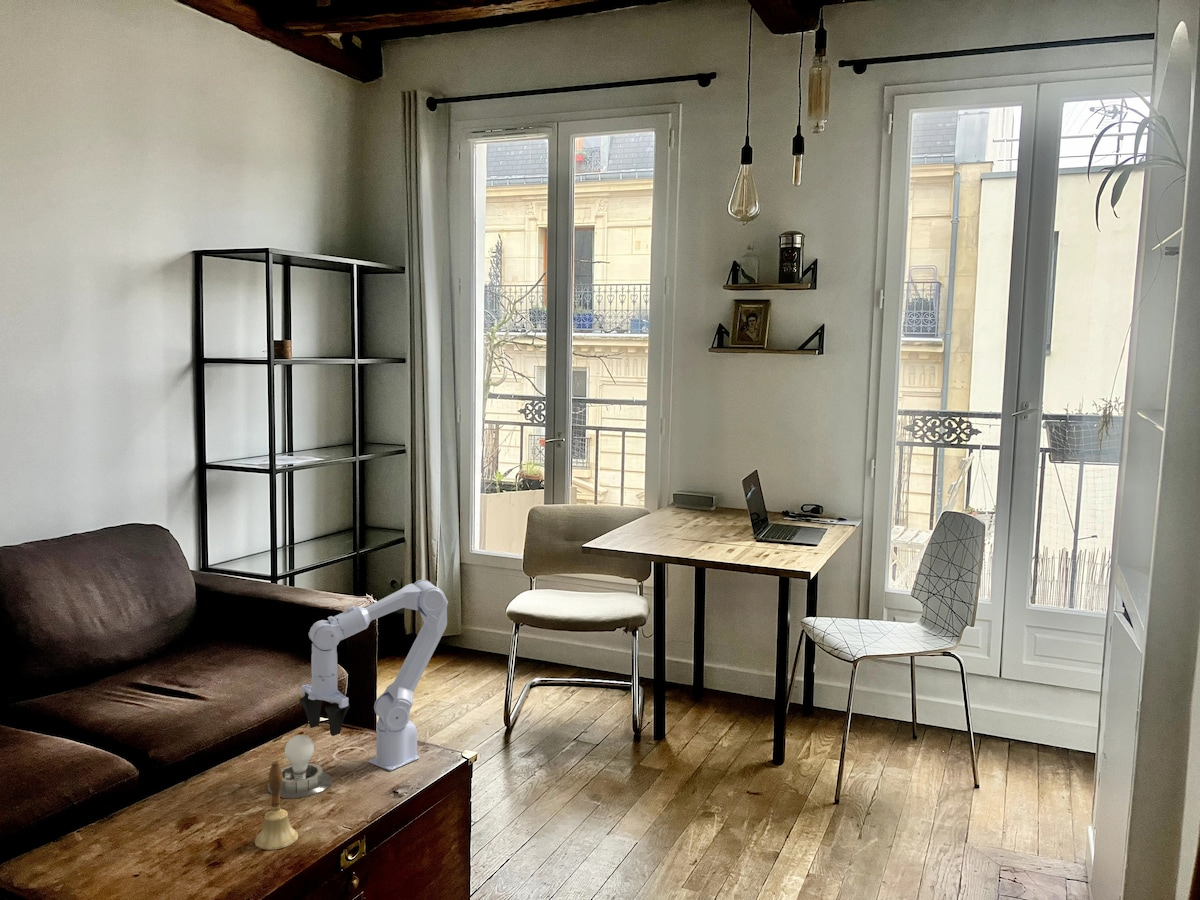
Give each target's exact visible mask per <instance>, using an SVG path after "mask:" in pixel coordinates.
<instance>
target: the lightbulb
mask: <svg viewBox="0 0 1200 900" xmlns="http://www.w3.org/2000/svg"><path fill="white" fill-rule="evenodd" d="M314 753H315V744H314V741H313V740H312V739H311V738H310V737H309V736H308V735H304V734H297V735H295V736H292V737H291V738H290V739H288V741H287V743H286V745H285V747H284V754H285V759H287V761H288V762H289V763H290V765H292V769H293V771H294V780H302V779H306V769H307V766H308V763H310V760H311V759H312V758H313V756H314Z"/></svg>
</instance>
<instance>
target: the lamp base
mask: <svg viewBox="0 0 1200 900" xmlns="http://www.w3.org/2000/svg"><path fill="white" fill-rule="evenodd" d="M281 771H282V786H281V789H280V797H286V798H285V799H287V798H295V799H300V798H299V797H304V798H307V797H306V796H309V797H312V796H311V795H313V796H315V794H316V795H319V794H321V793H323V792H324V791H326V790H327V789H329V788H330V787H329V786H331V785H332V783H333V779H332V776H331V775H330V774H328V773H327V772H325V771H323V768H322V766H321V765H318V764H316V763H310V762H308V766H307V769H306V779H302V780H294V771H293V769H292V765H291V764H289V765H287V766H284V767H282V768H281ZM289 779H290V780H289ZM292 779H293V780H292ZM268 784H269V782H268V783H267V785H266V789H268V790H267V792H268V791H269V792H270V793H271V794H272V792H271V789H270V785H268ZM322 791H323V792H322ZM269 792H268V793H269ZM320 792H321V793H320ZM270 793H269V794H270ZM271 794H270V795H271Z"/></svg>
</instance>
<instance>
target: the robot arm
mask: <svg viewBox="0 0 1200 900" xmlns="http://www.w3.org/2000/svg"><path fill="white" fill-rule="evenodd" d="M448 604H449V601H448V599H447V597H446V595H445V593H444V591H443V590H442V589H440V588H439V587H437V586H436V585H434V584H433V583H432V582H431V581H429V580H426V579H418V580H417V581H415V582H414V583H409V584H406V585H405V586H403V587H402V588H401V589H399V590H397V591H395V592H393V593H391V594H389V595H387V596H385V597H384V598H383V597H382V598H381V599H379V600H378V601H376V602H373V603H372V604H370V605H367V606H366V607H363V606H360V605H356V606H353V605H350V606H347V608H346V609H347V610H345V611H343V612H341V613H338V614H336V615H334V616H332V615H330V616H328V617H327V619H328V620H325V619H321V620H318V621H316V622H314V623H313V624H312V626H311V627H310V629H309V632H308V638H309V640H311V642H312V643H311V661H310V662H311V663H310V664H311V668H310V669H311V684H309V683H307V684H304V685H301V695H303V697H301V698H299V702H300V704H301V706H302V708H303V709H304V711H305V715H306V718H307V722H308V725H309V728H311V729H314V728H316V727H319V726H320V723H321V712H322V711H321V710H322V704H323V701H325V702H328V703H330V704H332V705H329V706H326V707H324V711H325V713H326V716H327V718H328V723H329V733H330V736H331V737H335V736H339V735H340V733H341V730H342V728H343V727H342V726H343V723H344V720H345V717H346V715H347V713H348V711H349V710H350V708H351V704H350V703H349V697H347V696H345V695H344V694H343V693H342V692H341V691H340V690H339V689H338V652H337V650H338V649H337V648H338V647H337V646H338V645H339V643H340V642H341V641H343V640H345V639H347V638H349V637H351V636H354V635H356V634H358V633H360V632H362V631H364V630H367V629H368V628H369V625H370V623H371V622H372V621H373V620H376V619H379V618H381V617H384V616H386V615H388V614H391V613H393V612H397V611H399V610H400V609H401V610H402V609H408V610H413V611H419V614H420V616H421V619H422V621H423V624H422V626H421V628H420V630H419V632H418V634H417V636H416V638H415V640H414V642H413V643H412V645H411V648H410V649H409V652H408V654H407V656H406V657H405V658H404V661H403V664H402V665H401V667H400V669H399V671H398V673H397V675H396V677H395V679H394V681H393V682H391V684H389V685H388V686H386V689H385V690H384V692H383V693H382V694H381V695H379V696H378V697H377V698H376V700H375V702H374V705H373V710H374V712H375V714H376V716H378V719H377V722H376V724H375V727H376V728H375V729H376V735H375V736H376V743H375V746H376V749H375V750H376V756H375V757H373V758H371V759H368V763H369V764H372V765H375V766H376V767H379V768H382V769H384V770H387V771H394V770H396V769H399V768H401V767H403V766H404V765H405V766H406V765H407V764H409V763H412V762H414V761H416V760H419V759H420V755H418V730H417V726H416V725H415V723H414V722H413V721H411V720H410V717H411V716H410V713H411V709H412V706H413V705H414V692H415V690H416V688H417V686H418V683H419V682H420V680H421V679H422V676H423V675H424V672H425V671H426V668H427V666H428V664H429V662H430V660H431V658H432V656H433V655H434V652H435V651H436V648H437V646H439V645H438V644H439V643H440V641H441V638H442V636H443V634H444V633H445V631H446V628H447V625H448Z"/></svg>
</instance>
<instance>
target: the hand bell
mask: <svg viewBox="0 0 1200 900" xmlns="http://www.w3.org/2000/svg"><path fill="white" fill-rule="evenodd" d="M270 766H271V767H270V768H269V773H268V783H269V785H270V789H271V792H272V795H271V809H270V810H269V811H268V812H266V813H265V815H264V817H263V825H262V829H261V831H260V833H259V834H258V835H257V836H256V837H255V839H254V844H255V846H256V847H257V848H258V849H260V850H261V849H262V850H265V851H266V850H267V851H268V850H269V851H271V850H272V851H273V850H278V849H279V850H280V849H283V848H286V847H289V846H291V845H293V844H295V842H297V841H298V839H299V832H297V830H296V829H295V828H293V827H292V825H291V823H290V819H289V813H288V811H287V809H283V808H281V798H280V789H281V786H282V771H281V769H282V768H281V765H280V761H277V760H275V761H272V763H271V765H270Z"/></svg>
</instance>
